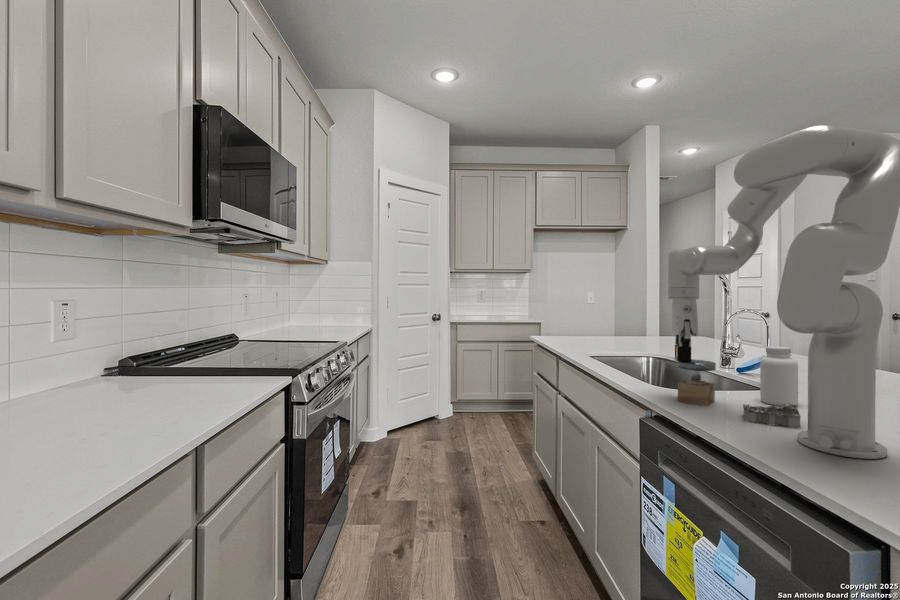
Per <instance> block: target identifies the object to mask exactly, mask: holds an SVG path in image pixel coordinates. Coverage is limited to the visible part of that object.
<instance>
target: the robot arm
mask: <svg viewBox="0 0 900 600" xmlns="http://www.w3.org/2000/svg"><path fill="white" fill-rule="evenodd" d="M733 170H734V171H733V178H734V182H735V183H736V184H737V185H738V186H740V187H741V189H740V191H739V192H738V193H737V194H736V196H735V197H734V198H733V199H732V200H731V202H730V203H729V204H728V206H727V209H726V210H727V214H728V215H729V217H730V218H731V219H732V220H733V221H734V222H735V223H737V224H738V227H737V230H736V231H735V233H734V235H732V236H731V238H730V239H729V240H728V242H726V243H725V245H695V246H691V247H688V248H678V249H676V248H675V249H673V250H670V251H669V253H668V259H667V262H668V263H667V264H668V265H667V267H668V269H667V271H668V273H667V284H668V285H667V293H668V294H667V299H668V300H671V302H672V303H671V330H672V333H674V334H675V338H674V339H675V341H674V342H675V343H674V358H676V346H679V347H678V361H679V362H691V359H692V336H693V337H697V336H698V335H699V320H698V319H699V318H698V317H699V316H698V305H697V300H700V276H725V275H731V274H733V273H735V272H737V271H739V269H741V268H742V267H743V266H744V265H745V264H747V262H748V261H749V260H750V259H751V258H752V257H753V256H754V254H755V253H757V250H758V249H759V247H760V245H761V242H762V240H763V239H762V238H763V235H764V225H765V224H766V223H767V221H768V220H770V218H771V217H772V216H773V215H774V214H775V212H777V210H778V209H779V208H780V207H781V206H782V205H783V204H784V203H785V201H786V200H787V199H788V198H789V197H790V196H791V195H792V194H793V192H794V191H796V189H797V188H798V187H800V185H801V184H802V182H804V180H805V179H806V177H808V175H818V176H831V177H842V178H846V179H848V182H846V184H845V185H844V187H843V188H842V190H841V191H840V193H839V194H838V196H837V198H836V200H835V205H834V209H833V210H834V211H833V213H832V218H831V221H830V222H822V223H817V224H812V225H810V226H808V227H806V228H805V229H803V230H802V231H800V232H799V233H798V234H797V235H796V236H795V238H794V239H793V241H792V242H791V244H790V246H789V248H788V250H787V254H786V258H785V263H784V266H783V267H784V268H783V270H782V271H783V272H782V276H781V281H780V285H779V291H778V295H777V301H776V302H777V303H776V308H777V309H776V310H777V311H776V312H777V315H778V317H779V318H778V319H780V322H781V323H782V324H783V325H784V326H785V327H786V328H788V329H789V330H791V331H792V332H795V333H800V334H810V335H811V334H812V337H811V339H810V342H809V345H808V351H807V352H808V353H807V430H802V431H800V432H797V437H796V438H797V441H798V442H799V443H801V444H802V445H804V446H806V447H807V448H811V449H813V450H816V451H819V452H822V453H826V454H830V455H831V454H832V455H834V456H835V455H836V456H839V457H840V456H841V457H844V458H845V457H847V458H852V459H861V460H862V459H866V460H877V459H883V458H885V457H887V456H888V448H887V447H886V446H884V445H883V444H881V443H880V442H877V441H876V393H877V392H876V391H877V390H876V387H877V386H876V379H877V378H876V377H877V376H876V373H877V345H878V337H879V333H880V329H881V325H882V321H883V314H884V313H883V312H884V309H883V304H882V300H881V298H880V297H879V295H878V294H877V293H876V292H875V291H874V290H873V289H871V288H869V287H868V286H865V285H863V284H859V283H855V282H851V281H849V282H848V281H844V277H845V276H848V277H849V276H850V277H851V276H862V275H868V274H871V273H875V271H876V272H877V270H878V269H880V268H881V267H882V266H883V265H884V263H885V262H886V260H887V258H888V254H889V251H890V247H891V243H892V239H893V235H894V231H895V228H896V225H897V220H898V217H899V212H900V140H899V139H898V138H896V137H894V136H892V135H889V134H886V133H883V132H879V131H875V130H869V129H864V128H862V129H861V128H854V127H845V126H837V125H828V124H827V125H826V124H825V125H824V124H821V125H813V126H809V127H806V128H803V129H801V130H797V131H794V132H792V133H789V134H787V135H784V136H781V137H779V138H775V139H774V140H771V141H767V142H765V143H761V144H760V145H757V146H755V147H753V148H751V149H750V150H748V151H747V152H745V153H744V154H743V155H741V157H740V158H739V159H738V161H737V162H736V165H735V167H734V169H733Z"/></svg>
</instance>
